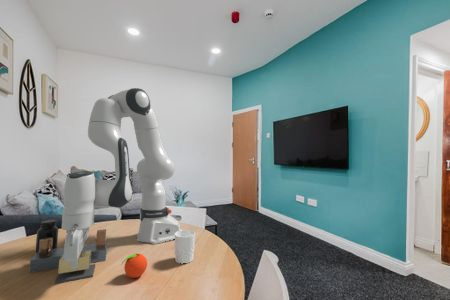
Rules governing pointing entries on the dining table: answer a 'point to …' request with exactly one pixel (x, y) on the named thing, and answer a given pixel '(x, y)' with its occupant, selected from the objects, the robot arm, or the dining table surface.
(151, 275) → the dining table surface
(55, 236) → the supplement bottle
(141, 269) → the clementine
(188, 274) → the dining table surface
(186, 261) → the white cup
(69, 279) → the mat
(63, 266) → the lever cap
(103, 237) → the body
